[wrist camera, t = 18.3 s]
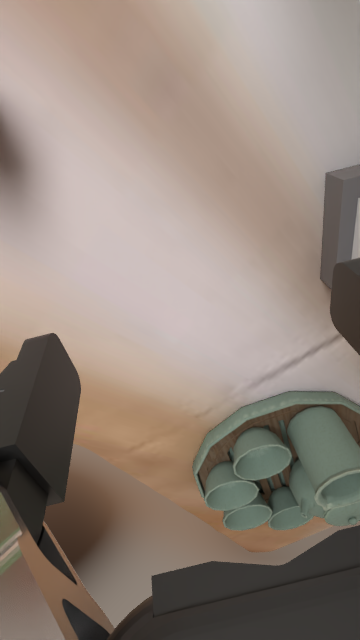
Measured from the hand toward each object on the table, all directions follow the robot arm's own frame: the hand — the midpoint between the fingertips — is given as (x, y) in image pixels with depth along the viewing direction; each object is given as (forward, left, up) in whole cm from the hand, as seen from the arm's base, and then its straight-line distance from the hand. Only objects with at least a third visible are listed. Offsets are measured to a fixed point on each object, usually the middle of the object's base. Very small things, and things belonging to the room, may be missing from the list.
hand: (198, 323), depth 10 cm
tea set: (+65, +14, -34) cm, 74 cm away
